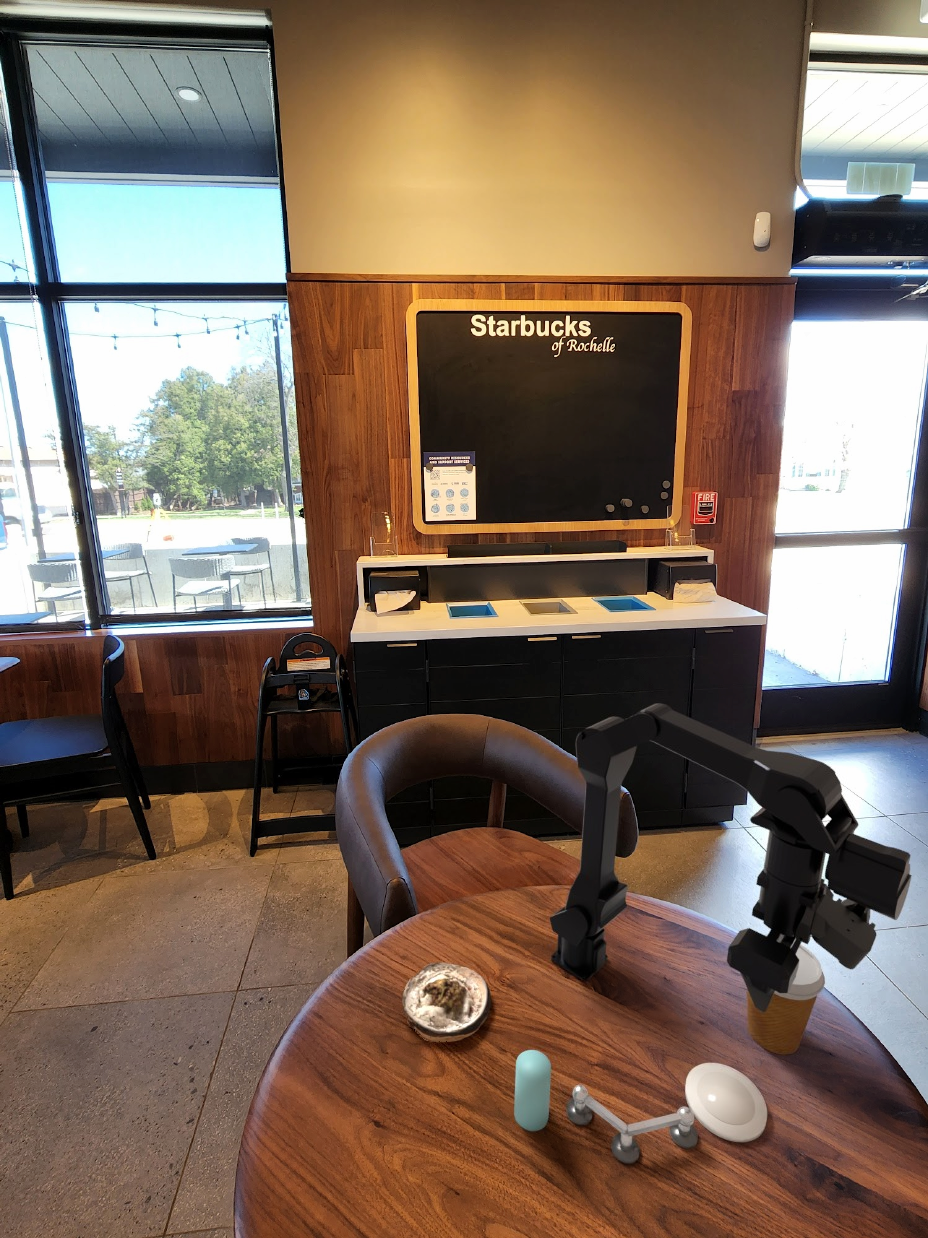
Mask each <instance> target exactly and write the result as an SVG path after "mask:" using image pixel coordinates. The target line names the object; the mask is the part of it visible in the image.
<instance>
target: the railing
mask: <svg viewBox="0 0 928 1238" xmlns="http://www.w3.org/2000/svg"><path fill="white" fill-rule="evenodd" d="M593 1112H594V1113H595V1114H597V1115H598V1116H599V1117H600V1118H602V1119H603V1120H604V1121H606V1122H607V1123H608V1124H610V1125H611V1126H612V1127H613V1128H614V1129H616V1130H617V1131H618V1132H619V1133H616V1134H615V1135H614V1136H613V1137H612V1139H611V1147H610V1148H611V1151H612V1154H613V1156H614V1157H615V1159H616V1160H618V1161H619V1162H620V1163H622V1164H625V1165H633V1164H635V1163H636V1162H637V1161H638V1159H639V1157H640V1146H639V1144H638V1142H637V1140H636V1139H635V1138H634V1137H633V1136H636V1135H640V1134H644V1133H649V1132H652V1131H653V1132H654V1131H656V1130H660V1129H661V1130H662V1129H664V1128H668V1127H669V1135H670V1137H671V1140H672V1141H673V1142H674V1144H676V1145H677V1146H679V1147H680V1148H682V1149H686V1150H688V1149H693V1148H695V1147H696V1145H697V1144H698V1132H697V1130H696V1128H695V1126H694V1125H693V1124H694V1122H695V1121H694V1120H695V1116H694V1115H693V1113H692V1111H691V1110H690V1108H689V1106H688V1107H687V1106H681V1107H679V1108H678V1109H677V1111H676V1112H674V1113H671V1114H666V1115H663V1116H658V1117H654V1118H650V1119H645V1120H642V1121H637V1122H634V1123H630V1124H626V1122H624V1121H623V1120H621V1119H620V1118H619V1117H618V1116H617V1115H615V1114H614V1113H612V1112H611V1111H610V1110H609V1109H607V1108H606V1107H605V1106H603V1105H602V1104H601V1103H600V1102H599V1101H597V1100H596V1099H594V1098H593V1097H592V1096H591V1095H590V1094H589V1092H588V1090H587V1088H586V1087H585V1086H584V1085H583V1084H577V1085H575V1086H574V1088H573V1090H572V1098H570V1099H569V1100H568V1102H567V1103H566V1115H567V1118H568V1119H569V1120H570V1121H571V1122H572V1123H573V1124H575V1125H578V1126H586V1125H588V1124H589V1123H590V1122H591V1121H592V1119H593Z"/></svg>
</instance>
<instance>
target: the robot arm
mask: <svg viewBox="0 0 928 1238" xmlns="http://www.w3.org/2000/svg"><path fill="white" fill-rule="evenodd" d="M646 742H647V743H648V742H652V743H653V744H654V743H655V744H656V745H659V746H660V747H663V748H664V749H666V750H668V751H671V752H672V753H675V754H677V755H679V756H681V757H682V758H685V759H687V760H689V761H691V762H692V763H695V764H697V765H698V766H701V767H703V768H705V769H706V770H709V771H711V772H713V773H715V774H717V775H719V776H721V777H723V778H725V779H728V781H729V780H730V781H731V782H734V783H735V784H736V785H738V786H740V787H741V788H743V789H744V790H745V791H747V793H748V794H749V795H750V796H751V797H752V799H753V800H754V801H755V802H756V803H757V804H758V805H759V807H761V808H760V809H759V810H758V811H756V813H754V814H753V815H752V816H751V817H750V818H749V821H750V823H752V824H753V825H755V826H758V827H761V828H762V829H765V830H768V838H767V844H766V853H765V857H764V864H763V868H762V870H761V871H760V872H759V874H758V875H757V877H756V878H757V879H756V885H757V886H759V887H760V891H759V897H758V900H757V902H756V903H755V904H754V906H753V907H752V909H751V910H752V911H751V916H753V917H754V918H756V919H759V920H760V921H762V923H763V925H765V926H766V927H767V928H768V929H770V930H769V931H768V934H763V933H760V932H758V931H757V930H754V929H752V928H750V927H747V928H745V929H741V930H739V931H738V932H737V934H736V936H735V937H734V939H733V940H732V942H731V943H730V944H729V946H728V949H727V957H726V962H727V964H728V966H729V967H730V968H731V969H733V970H735V971H737V972H739V973H740V975H741V977H742V980H743V982H744V984H745V987H746V990H747V989H748V991H749V994H750V996H751V999H752V1001H753V1003H754V1006H755V1007H756V1008H757V1009H759V1010H760V1011H762V1012H766V1010H767V1007H768V1005H769V1003H770V1001H771V999H772V997H773V994H774V992H775V991H777V992H778V993H788V991H789V989H790V987H791V985H792V983H793V982H794V980H795V978H796V974H797V970H798V966H799V961H800V960H799V959H798V957H797V956H796V953H797V951H798V949H799V946H800V944H801V945H802V943H804V944H806V945H809V943H810V941H811V938H812V940H813V941H814V942H815V943H816V944H817V945H819V947H821V948H822V949H824V950H825V951H826V952H828V954H830V955H831V956H832V957H834V958H835V959H836V960H837V961H838V963H839V964H840V965H841V966H843V967H844V968H846V969H848V970H854V969H855V968H856V967H857V966H858V965H859V964H860V963H861V962H862V961H863V959H864V958H866V956H867V955H868V954H869V953H870V952H871V951H872V948H873V945H874V943H875V941H876V937H877V931H876V930H875V928H876V924H875V923H874V922H871V923H870V920H871V910H872V911H874V912H876V913H879V914H880V915H883V916H885V917H887V918H890V919H891V920H894V921H897V920H898V918H899V917H900V915H901V913H902V910H903V907H904V905H905V903H906V899H907V895H908V892H909V889H910V886H911V885H910V884H911V881H912V875H911V874H910V873H911V864H910V861H911V854H910V852H909V851H906V850H902V849H900V848H897V847H891V846H888V845H884V844H881V843H879V842H877V841H874V840H871V839H868V838H865V837H863V836H861V835H857V834H855V831H856V830H857V828H858V827H859V822H858V821H857V819H856V817H855V815H854V813H853V812H852V809H851V808H850V806H849V804H848V803H847V801H846V799H845V798H844V796H843V794H842V792H843V789H842V785H841V781H840V779H839V778H838V775H837V774H836V771H835V769H833V768H832V766H830V765H828V764H826V763H825V762H822V761H820V760H817V759H813V758H810V757H806V756H802V755H799V754H796V753H792V752H784V751H774V750H766V749H763V748H759V747H756V746H754V745H752V744H749V743H747V742H745V741H743V740H741V739H738V738H736V737H734V736H731V735H730V734H727V733H725V732H723V731H720V730H718V729H716V728H714V727H711V726H709V725H707V724H705V723H702V722H700V721H698V720H696V719H693V718H691V717H688V716H687V715H685V714H682V713H680V712H678V711H675V710H673V709H672V707H670V706H669V705H668V704H665V703H660V702H659V703H653V704H651V705H649V706H648V707H645V708H643V709H641V710H639V711H638V712H636V714H633V715H631V716H629V717H627V718H622V717H621V716H620V717H619V716H610V717H608V718H606V719H605V718H604V719H603V720H601V721H599V722H596V723H595V724H593V725H591V726H588V727H586V728H585V729H582V730H581V731H580V732H578V734H577V736H576V739H575V753H576V763H577V767H578V768H577V769H578V771H579V772H580V774H581V775H582V777H583V779H584V782H585V790H584V791H585V793H584V807H583V821H582V835H581V836H582V837H581V847H580V848H581V850H580V851H581V852H580V865H579V866H580V867H579V871H578V873H577V875H576V877H575V879H574V881H573V883H572V885H571V887H570V888H569V890H568V894H567V898H566V902H565V905H564V906H562V907H561V908H560V909H559V910H558V911H556V912H555V913H553V915H551V916H549V921H550V926H551V930H552V932H554V933H555V934H557V945H556V951H554V952H553V953H552V954H551V956H550V960H551V961H552V963H555V964H556V965H557V966H559V967H561V968H562V969H564V970H566V971H567V972H568V973H570V974H572V975H574V977H576V978H578V979H579V980H581V981H583V982H588V981H589V980H590V979H591V978H592V977H593V976H594V975H595V974H597V973H598V972H599V971H600V970H601V969H602V968H603V967H604V966H605V964H606V962H607V961H608V959H609V956H608V954H607V953H606V952H607V941H606V940H605V933H606V931H605V927H606V926H607V925H609V924H610V923H611V922H612V921H614V920H615V919H616V918H617V917H618V916H619V915H621V914H622V912H623V911H624V910H625V909H627V907H628V905H627V904H628V903H627V899H626V897H627V893H628V884H626V883H623V882H621V881H620V880H619V878H618V877H617V875H616V873H615V864H616V863H615V862H616V853H617V840H618V829H619V816H620V815H619V814H620V805H621V792H622V791H621V790H622V784H623V781H624V780H625V777H626V775H627V773H628V771H629V770H630V768H631V766H632V764H633V761H634V758H635V755H636V751H637V747H638V746H640V745H642V744H644V743H646ZM827 816H828V817H829V818H830V820H829V821H828V822H827V824H826V825H825V824H824V822H823V820H824V819H825V818H826V817H827ZM826 855H828V857H827V862H826V865H825V860H826ZM824 867H825V871H824ZM823 871H824V878H825V879H824V878H823ZM825 880H827V883H825ZM834 894H836V895H838V896H839V897H842V898H845V899H843V900H842V899H841V898H839V897H838V899H837V900H834V897H835V896H834ZM765 935H767V936H765Z"/></svg>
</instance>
